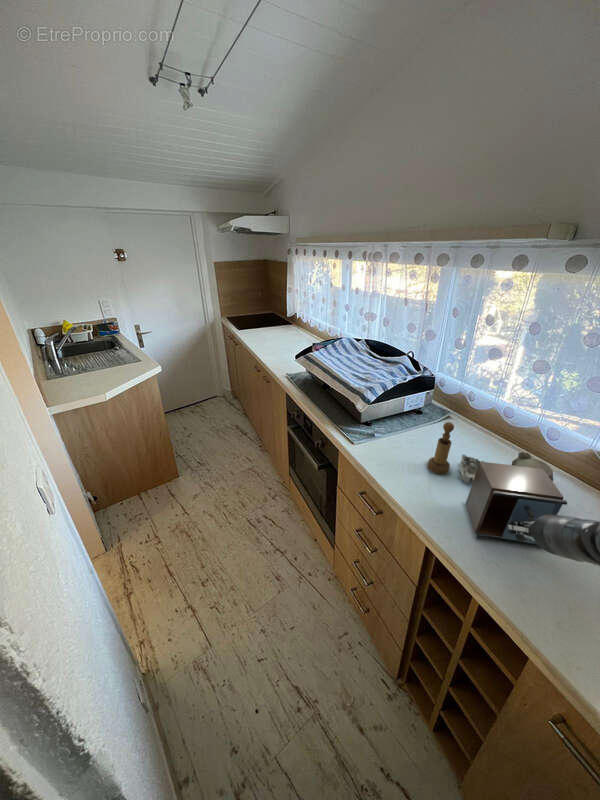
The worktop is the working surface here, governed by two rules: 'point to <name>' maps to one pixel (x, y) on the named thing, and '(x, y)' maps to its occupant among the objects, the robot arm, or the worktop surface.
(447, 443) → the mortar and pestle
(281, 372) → the worktop surface
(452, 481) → the worktop surface
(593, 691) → the worktop surface
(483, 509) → the cupboard
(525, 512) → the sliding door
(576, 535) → the robot arm
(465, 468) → the grey lumpy piece
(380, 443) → the worktop surface
